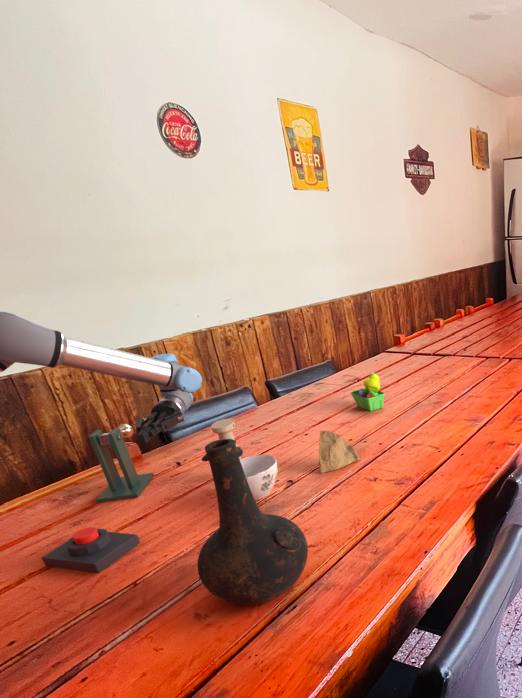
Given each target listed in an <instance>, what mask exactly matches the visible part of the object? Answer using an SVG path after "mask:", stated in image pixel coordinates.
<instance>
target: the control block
mask: <svg viewBox="0 0 522 698" xmlns="http://www.w3.org/2000/svg"><path fill="white" fill-rule="evenodd" d="M96 529H97V532H98V534H99V538H97V539H96V540H94V541H92V542H90V543H87V544H83V545H76V544H75V542H74V540H73V538H72V537H70V538H68V540H67V541H65V542H64V543H62V544H61V545H59V546H57V547H56V548H54V549H53V550H51V551H49V552H48V553H46V554H45V555H43V556H41V561H42V562H43V564H44V566H45V567H47V568H54V569H55V568H56V569H62V570H71V571H79V572H86V573H88V572H89V573H94V574H95V573H96V574H100V573H101V572H103V571H104V570H105V569H107V568H108V567H110V566H111V565H112V564H114V563H115V562H116V561H118V560H120V558H122V557H124V556H125V555H126V554H128V553H129V552H131V551H132V550H133V549H135V548H136V547H137V546H138V545H140V544H141V541H140V539H139V535H138V534H134V533H126V532H125V533H124V532H114V531H108V530H107V529H106V528H96Z"/></svg>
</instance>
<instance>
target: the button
mask: <svg viewBox="0 0 522 698" xmlns="http://www.w3.org/2000/svg"><path fill="white" fill-rule="evenodd" d="M97 529H98V528H96V527H93V526H90V527H89V526H88V527H85V528H82V529H79V530H77V531H75V532H74V533H73V534H72V536H71V538H73V540H74V542H75V544H76V545H83V544H87V543H90V542H92V541H94V540H96V539H97V538H99V534H98V532H97Z"/></svg>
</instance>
